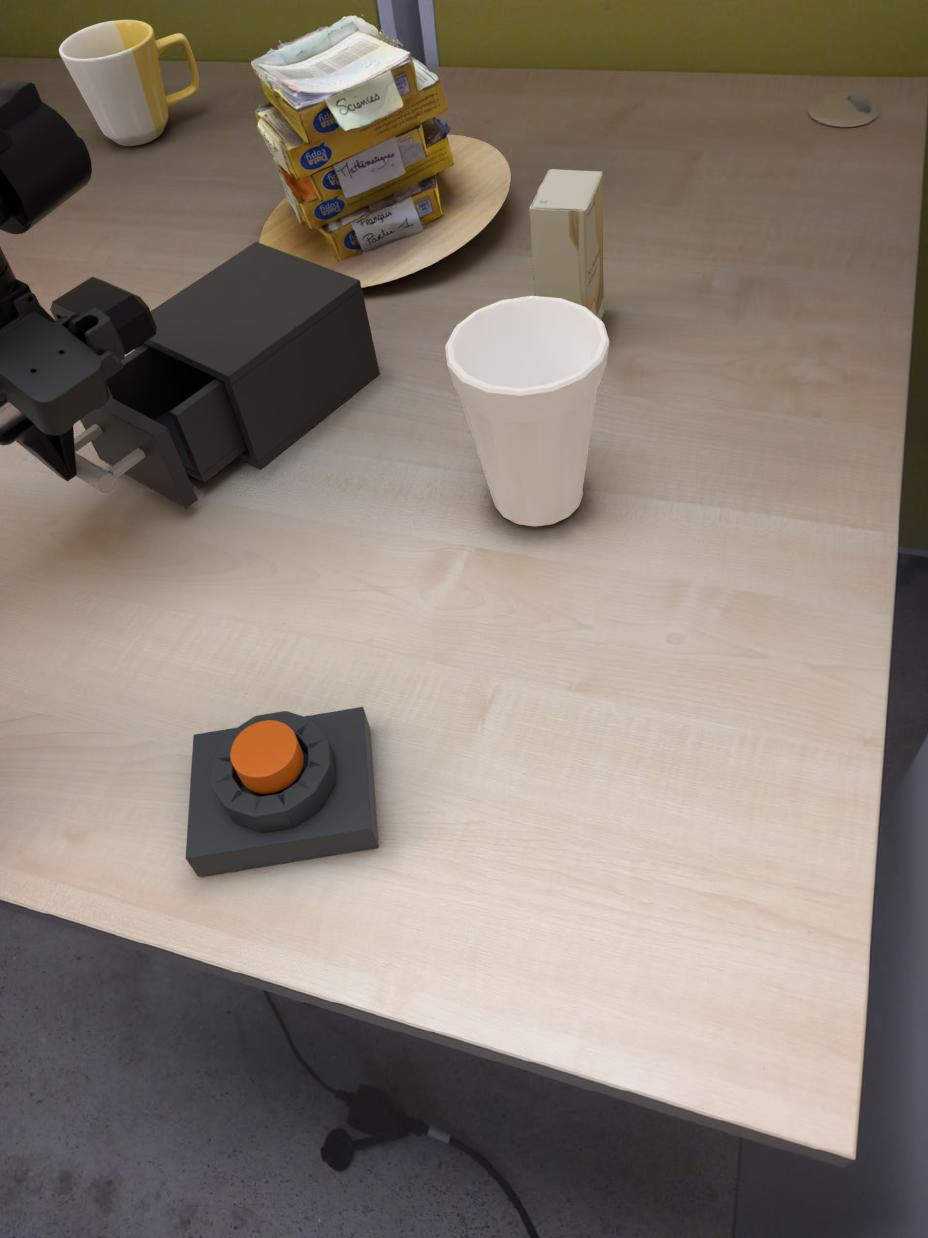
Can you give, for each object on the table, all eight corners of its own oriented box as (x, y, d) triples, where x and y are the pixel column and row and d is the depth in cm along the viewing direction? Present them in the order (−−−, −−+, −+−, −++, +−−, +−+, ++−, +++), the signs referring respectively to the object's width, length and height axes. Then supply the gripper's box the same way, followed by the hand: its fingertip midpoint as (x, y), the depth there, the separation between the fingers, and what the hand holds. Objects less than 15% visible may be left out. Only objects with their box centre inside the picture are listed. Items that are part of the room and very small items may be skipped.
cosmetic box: (589, 356, 82) (586, 212, 72) (536, 352, 83) (526, 209, 74) (606, 310, 85) (605, 167, 76) (555, 306, 87) (548, 165, 77)
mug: (97, 164, 114) (58, 65, 106) (93, 127, 121) (57, 32, 113) (217, 135, 116) (188, 36, 108) (207, 100, 122) (178, 4, 114)
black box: (260, 469, 77) (228, 376, 71) (163, 418, 83) (125, 327, 76) (380, 374, 83) (360, 279, 77) (282, 332, 89) (255, 240, 82)
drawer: (141, 545, 72) (105, 472, 67) (55, 491, 77) (15, 419, 72) (306, 414, 79) (285, 340, 74) (218, 373, 84) (192, 300, 79)
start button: (238, 799, 54) (228, 782, 53) (239, 743, 57) (230, 725, 55) (305, 788, 54) (297, 771, 53) (303, 732, 57) (296, 714, 55)
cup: (451, 473, 75) (426, 318, 65) (580, 437, 76) (575, 279, 66) (491, 567, 68) (470, 410, 58) (632, 526, 69) (635, 365, 59)
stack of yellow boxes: (262, 320, 90) (205, 130, 78) (256, 188, 106) (207, 12, 94) (536, 269, 91) (523, 72, 78) (488, 145, 107) (472, -35, 94)
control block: (198, 877, 56) (174, 842, 53) (204, 754, 61) (183, 716, 58) (378, 848, 56) (365, 811, 53) (370, 727, 61) (357, 687, 58)
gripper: (-113, 411, 51) (24, 611, 63) (168, 234, 60) (243, 440, 71) (-215, 344, 57) (-71, 541, 68) (56, 190, 65) (143, 389, 77)
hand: (68, 476), depth 71 cm, fingers closed
